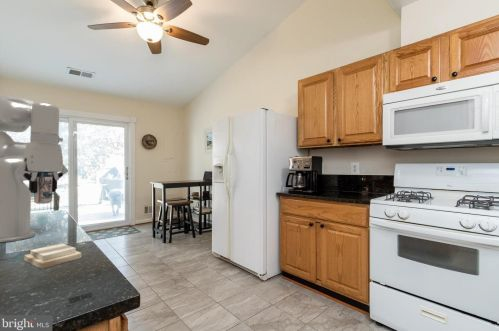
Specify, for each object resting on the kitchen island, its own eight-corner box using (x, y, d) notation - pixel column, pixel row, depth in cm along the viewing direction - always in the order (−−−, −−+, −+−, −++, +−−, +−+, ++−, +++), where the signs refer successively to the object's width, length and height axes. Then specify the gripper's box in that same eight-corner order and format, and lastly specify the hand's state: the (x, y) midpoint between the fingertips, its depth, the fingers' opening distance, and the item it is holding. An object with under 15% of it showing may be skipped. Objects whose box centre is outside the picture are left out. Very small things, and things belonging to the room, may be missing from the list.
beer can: (41, 204, 83) (42, 168, 83) (30, 203, 84) (31, 168, 84) (55, 202, 87) (56, 168, 87) (44, 201, 88) (45, 168, 88)
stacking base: (23, 260, 73) (24, 250, 73) (62, 250, 82) (62, 241, 82) (41, 269, 67) (41, 258, 67) (81, 257, 76) (81, 248, 76)
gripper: (67, 142, 95) (65, 189, 95) (7, 137, 80) (6, 193, 80) (77, 141, 91) (76, 191, 91) (17, 136, 76) (15, 195, 76)
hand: (43, 191), depth 85 cm, fingers closed on beer can, 4 cm apart
